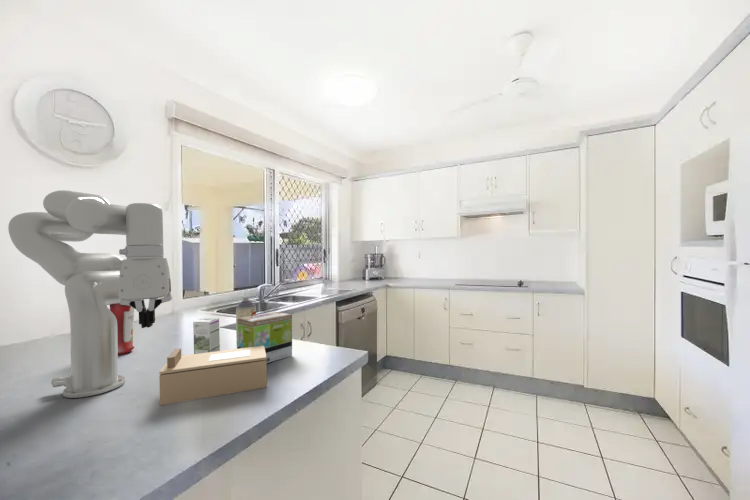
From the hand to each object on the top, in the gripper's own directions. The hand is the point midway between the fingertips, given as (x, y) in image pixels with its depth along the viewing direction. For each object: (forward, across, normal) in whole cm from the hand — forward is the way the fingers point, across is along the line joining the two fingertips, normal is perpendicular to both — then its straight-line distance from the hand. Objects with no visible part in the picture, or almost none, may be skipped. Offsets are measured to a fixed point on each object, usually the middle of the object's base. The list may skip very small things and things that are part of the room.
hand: (147, 326), depth 79 cm
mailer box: (+18, +16, 0) cm, 24 cm away
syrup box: (+18, +10, +23) cm, 31 cm away
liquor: (+17, -20, +51) cm, 58 cm away
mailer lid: (+11, +16, 0) cm, 19 cm away
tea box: (+18, +28, +19) cm, 39 cm away
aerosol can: (+18, +22, +31) cm, 42 cm away
